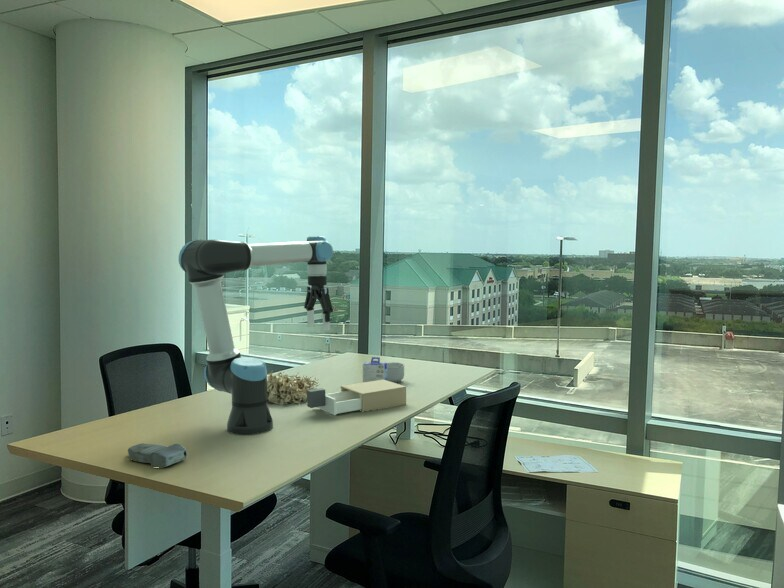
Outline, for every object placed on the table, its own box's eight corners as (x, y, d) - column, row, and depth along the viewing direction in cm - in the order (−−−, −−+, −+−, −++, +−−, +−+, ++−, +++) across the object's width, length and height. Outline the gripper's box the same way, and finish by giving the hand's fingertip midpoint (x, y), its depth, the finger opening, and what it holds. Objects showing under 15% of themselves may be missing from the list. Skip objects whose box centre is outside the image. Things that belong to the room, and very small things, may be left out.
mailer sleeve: (362, 412, 226) (362, 393, 226) (341, 403, 239) (341, 385, 239) (406, 404, 238) (406, 386, 237) (383, 396, 251) (383, 379, 250)
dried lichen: (300, 408, 233) (300, 379, 232) (231, 403, 242) (230, 375, 241) (328, 393, 258) (327, 366, 257) (264, 388, 267) (264, 363, 266)
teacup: (409, 382, 277) (409, 364, 276) (389, 385, 271) (389, 367, 270) (391, 377, 288) (391, 360, 288) (372, 380, 282) (372, 362, 282)
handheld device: (142, 450, 185) (141, 435, 185) (190, 461, 176) (190, 445, 175) (114, 460, 176) (114, 444, 176) (164, 472, 167) (164, 455, 167)
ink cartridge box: (388, 390, 261) (387, 357, 260) (385, 393, 255) (385, 359, 254) (365, 389, 263) (365, 356, 262) (362, 392, 257) (362, 358, 256)
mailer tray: (319, 417, 216) (319, 395, 215) (299, 408, 229) (299, 387, 228) (380, 406, 231) (380, 385, 230) (358, 398, 244) (358, 378, 243)
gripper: (340, 275, 233) (342, 330, 235) (311, 273, 253) (312, 324, 255) (323, 276, 229) (324, 332, 230) (295, 274, 249) (296, 325, 251)
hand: (318, 328), depth 243 cm, fingers open, 13 cm apart
